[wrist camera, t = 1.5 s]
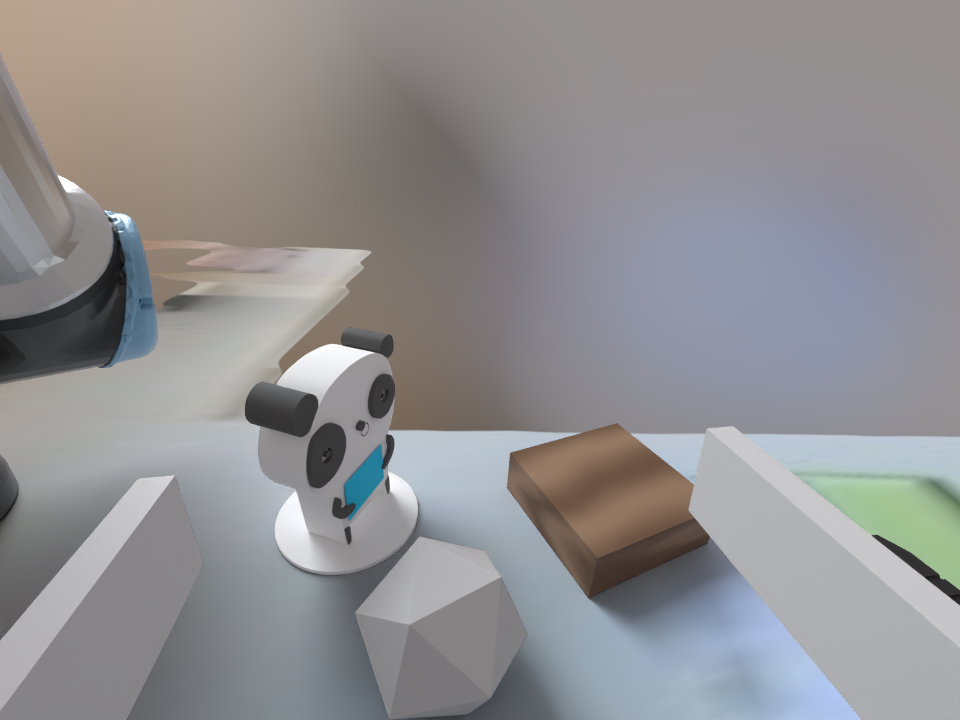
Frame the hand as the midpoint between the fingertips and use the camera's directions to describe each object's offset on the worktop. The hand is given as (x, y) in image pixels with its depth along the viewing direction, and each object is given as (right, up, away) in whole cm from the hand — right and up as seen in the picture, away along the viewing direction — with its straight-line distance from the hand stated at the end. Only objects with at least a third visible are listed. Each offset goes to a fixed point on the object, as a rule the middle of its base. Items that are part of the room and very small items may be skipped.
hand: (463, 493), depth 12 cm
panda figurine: (-11, -10, +26) cm, 30 cm away
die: (-2, -15, +16) cm, 22 cm away
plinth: (+11, -10, +28) cm, 31 cm away
